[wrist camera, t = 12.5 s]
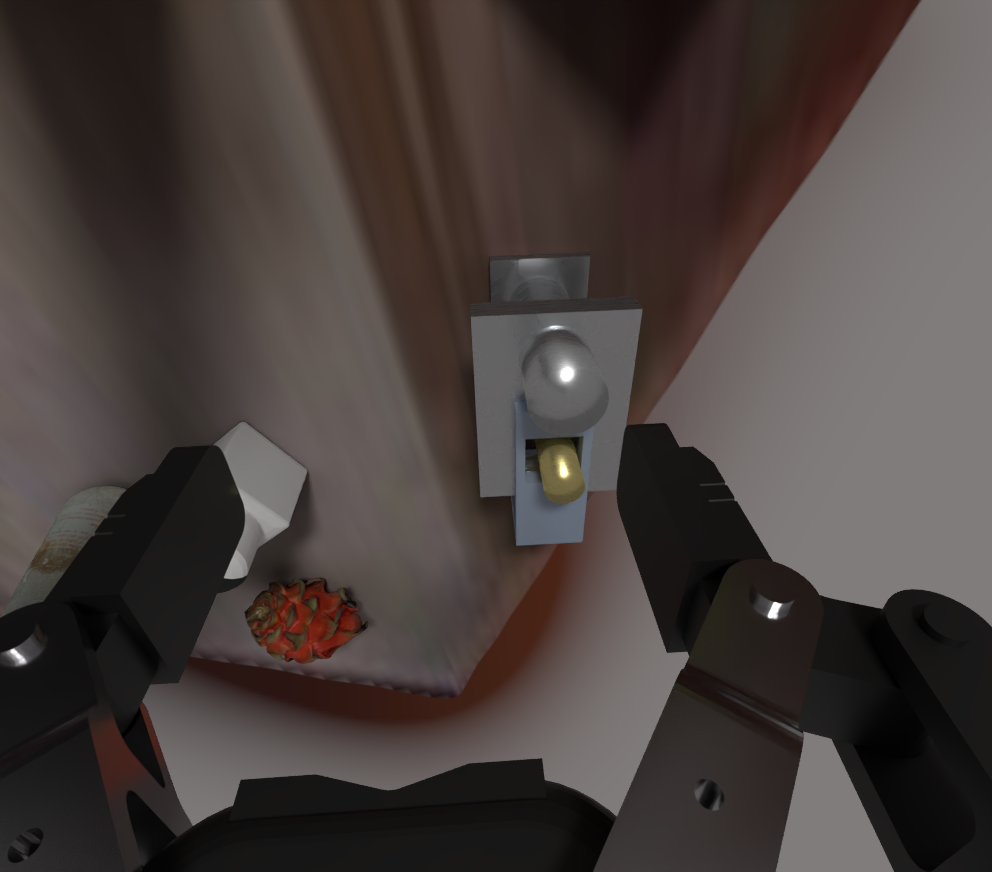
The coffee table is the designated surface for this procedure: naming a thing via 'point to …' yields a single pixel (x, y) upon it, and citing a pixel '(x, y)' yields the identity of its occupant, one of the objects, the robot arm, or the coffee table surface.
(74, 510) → the bottle
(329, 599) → the dragon fruit
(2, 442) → the coffee table surface
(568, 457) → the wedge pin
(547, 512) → the bracket
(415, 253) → the coffee table surface
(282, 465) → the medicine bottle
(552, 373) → the grey piece
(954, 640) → the robot arm
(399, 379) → the coffee table surface
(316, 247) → the coffee table surface
